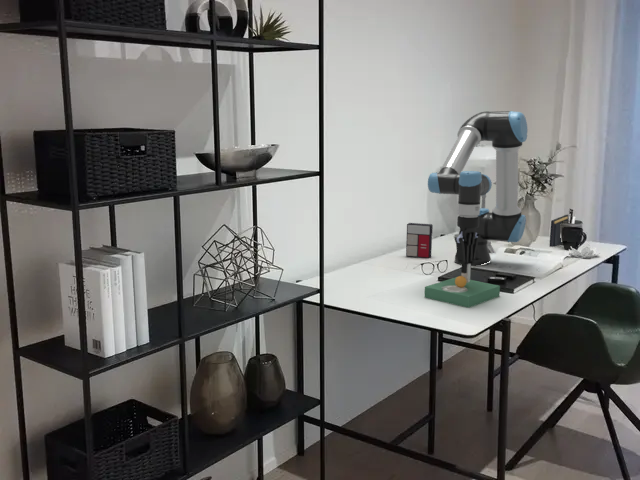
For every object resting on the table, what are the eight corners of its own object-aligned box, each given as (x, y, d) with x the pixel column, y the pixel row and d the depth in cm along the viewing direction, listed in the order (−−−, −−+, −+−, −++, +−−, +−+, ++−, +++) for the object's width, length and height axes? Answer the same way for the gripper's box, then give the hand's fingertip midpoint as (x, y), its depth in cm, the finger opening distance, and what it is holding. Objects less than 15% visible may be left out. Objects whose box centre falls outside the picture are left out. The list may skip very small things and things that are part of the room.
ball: (458, 274, 235) (458, 284, 236) (452, 276, 232) (452, 287, 233) (468, 275, 233) (468, 286, 234) (462, 278, 230) (462, 289, 231)
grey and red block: (405, 256, 301) (406, 224, 298) (408, 254, 305) (408, 222, 302) (429, 258, 296) (430, 225, 294) (431, 256, 300) (432, 224, 298)
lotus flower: (601, 266, 282) (602, 246, 280) (563, 263, 288) (565, 244, 286) (600, 260, 295) (602, 240, 293) (565, 257, 301) (566, 238, 299)
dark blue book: (552, 251, 313) (555, 219, 310) (548, 250, 314) (551, 219, 311) (568, 245, 328) (570, 214, 325) (564, 244, 329) (567, 214, 326)
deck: (424, 297, 235) (424, 286, 234) (456, 287, 248) (456, 276, 248) (468, 308, 222) (468, 296, 221) (499, 296, 236) (499, 285, 235)
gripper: (467, 219, 224) (464, 286, 228) (487, 215, 233) (484, 280, 237) (448, 216, 229) (446, 282, 233) (469, 212, 238) (466, 276, 243)
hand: (465, 281), depth 235 cm, fingers closed
